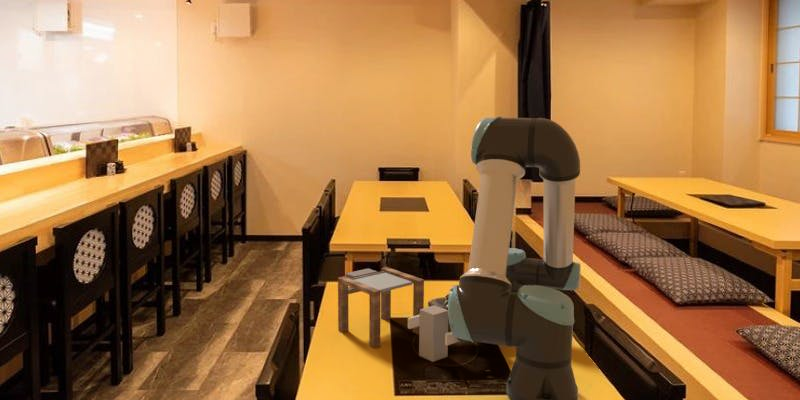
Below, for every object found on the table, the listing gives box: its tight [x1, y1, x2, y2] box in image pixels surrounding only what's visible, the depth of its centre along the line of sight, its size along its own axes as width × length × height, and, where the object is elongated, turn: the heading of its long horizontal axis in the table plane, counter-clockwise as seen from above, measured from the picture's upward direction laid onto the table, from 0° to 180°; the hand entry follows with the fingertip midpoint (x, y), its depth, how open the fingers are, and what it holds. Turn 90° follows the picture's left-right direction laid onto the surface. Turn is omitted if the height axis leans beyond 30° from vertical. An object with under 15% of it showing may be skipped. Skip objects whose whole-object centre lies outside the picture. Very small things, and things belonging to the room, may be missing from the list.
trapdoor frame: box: [337, 266, 425, 349], centre depth 171 cm, size 16×17×15 cm
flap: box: [345, 268, 413, 294], centre depth 172 cm, size 17×12×2 cm
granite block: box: [418, 305, 449, 363], centre depth 155 cm, size 5×5×12 cm
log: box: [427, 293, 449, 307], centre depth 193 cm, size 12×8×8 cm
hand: (426, 331), depth 154 cm, fingers open, 13 cm apart
